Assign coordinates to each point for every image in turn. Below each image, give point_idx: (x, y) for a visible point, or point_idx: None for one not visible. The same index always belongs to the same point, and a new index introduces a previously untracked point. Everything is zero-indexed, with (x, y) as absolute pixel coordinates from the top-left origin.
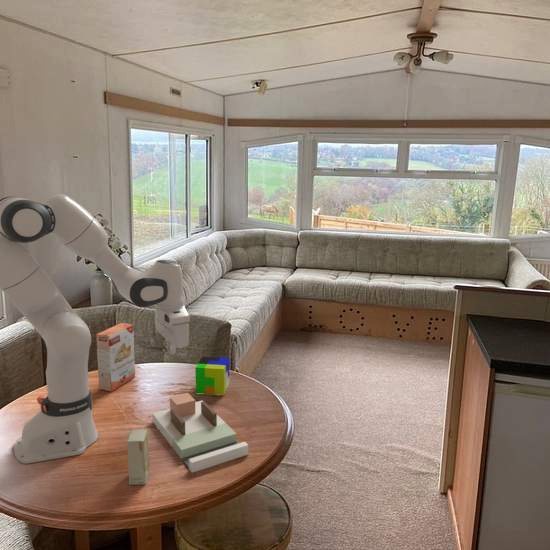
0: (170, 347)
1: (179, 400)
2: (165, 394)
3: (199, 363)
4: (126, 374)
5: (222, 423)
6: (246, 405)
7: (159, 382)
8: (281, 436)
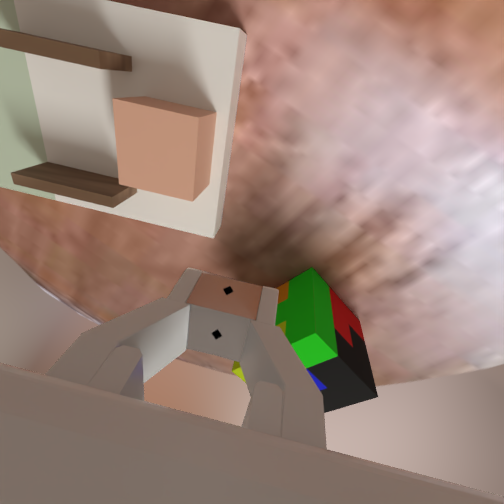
0: (150, 307)
1: (146, 133)
2: (391, 201)
3: (334, 360)
4: None
5: None
6: None
7: (488, 240)
8: (19, 262)
